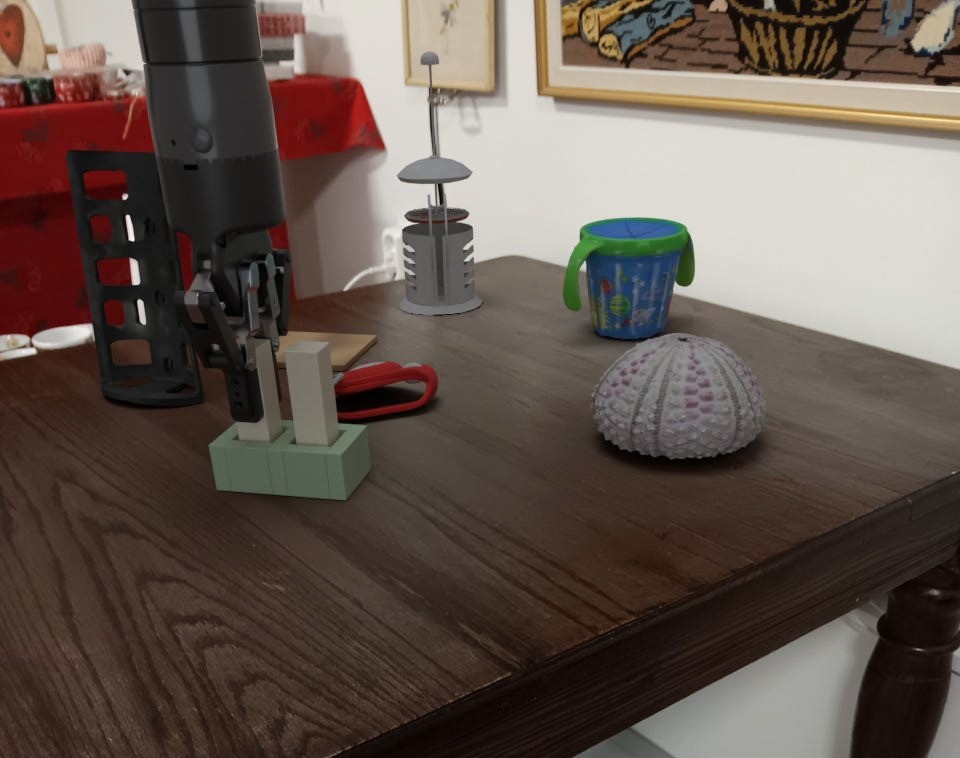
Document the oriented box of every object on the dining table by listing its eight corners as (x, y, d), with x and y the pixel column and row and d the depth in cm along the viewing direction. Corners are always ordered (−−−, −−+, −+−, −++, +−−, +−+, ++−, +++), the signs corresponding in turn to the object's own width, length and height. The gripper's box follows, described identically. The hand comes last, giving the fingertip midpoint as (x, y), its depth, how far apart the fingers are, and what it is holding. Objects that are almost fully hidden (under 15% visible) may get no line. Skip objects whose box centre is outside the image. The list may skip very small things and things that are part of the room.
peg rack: (216, 490, 72) (208, 445, 70) (248, 460, 77) (241, 417, 75) (346, 500, 70) (341, 454, 68) (371, 469, 75) (367, 424, 73)
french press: (480, 291, 118) (474, 47, 104) (487, 318, 108) (482, 53, 95) (398, 294, 118) (381, 50, 104) (397, 322, 108) (379, 56, 94)
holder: (76, 401, 88) (31, 150, 79) (123, 381, 95) (87, 148, 85) (189, 410, 86) (157, 153, 77) (229, 389, 92) (204, 151, 83)
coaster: (247, 366, 96) (246, 360, 96) (287, 336, 104) (286, 330, 104) (344, 371, 94) (344, 365, 94) (377, 340, 102) (377, 334, 102)
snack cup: (591, 357, 96) (595, 246, 90) (537, 330, 104) (537, 227, 98) (720, 332, 102) (731, 226, 96) (660, 308, 110) (667, 210, 104)
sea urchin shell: (563, 423, 81) (566, 324, 77) (709, 401, 85) (719, 305, 81) (637, 486, 71) (644, 375, 66) (799, 457, 74) (817, 350, 70)
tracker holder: (336, 370, 91) (439, 346, 88) (349, 418, 92) (451, 396, 89) (286, 383, 80) (402, 355, 77) (301, 437, 81) (416, 412, 78)
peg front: (301, 487, 72) (283, 350, 67) (313, 474, 74) (296, 340, 69) (332, 489, 72) (316, 352, 66) (344, 476, 74) (329, 341, 68)
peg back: (246, 483, 73) (223, 347, 68) (259, 470, 75) (238, 337, 70) (276, 485, 73) (255, 349, 67) (289, 472, 75) (270, 339, 69)
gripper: (211, 131, 68) (250, 378, 78) (102, 161, 57) (162, 446, 66) (314, 131, 66) (340, 383, 76) (222, 161, 55) (266, 453, 65)
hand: (257, 411), depth 71 cm, fingers closed
